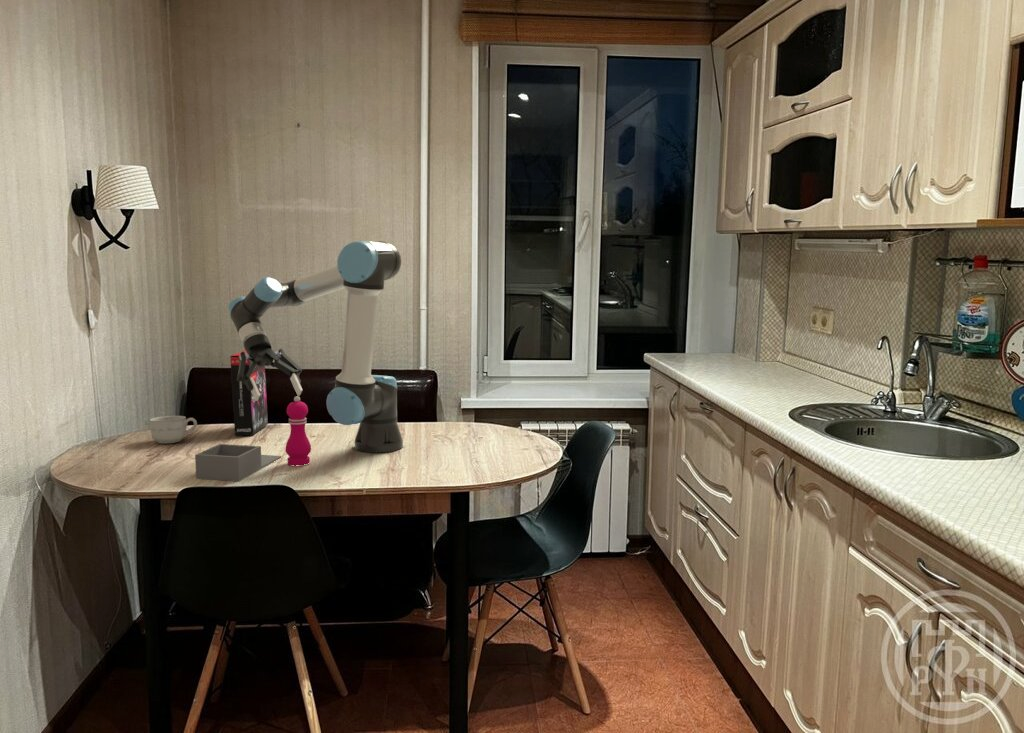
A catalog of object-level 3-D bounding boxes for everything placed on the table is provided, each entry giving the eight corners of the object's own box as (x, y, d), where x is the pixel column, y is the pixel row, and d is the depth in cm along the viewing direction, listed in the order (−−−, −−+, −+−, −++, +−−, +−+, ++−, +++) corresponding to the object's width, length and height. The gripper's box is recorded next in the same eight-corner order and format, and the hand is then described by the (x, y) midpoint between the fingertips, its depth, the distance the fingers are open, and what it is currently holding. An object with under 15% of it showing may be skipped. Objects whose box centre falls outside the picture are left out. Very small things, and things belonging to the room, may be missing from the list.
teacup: (145, 445, 254) (144, 421, 253) (158, 437, 265) (157, 414, 264) (190, 446, 255) (189, 421, 254) (201, 438, 266) (200, 414, 265)
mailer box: (281, 457, 242) (281, 436, 241) (239, 481, 217) (238, 457, 217) (242, 455, 244) (241, 434, 243) (196, 478, 220) (195, 454, 219)
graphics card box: (253, 436, 268) (250, 355, 265) (232, 436, 268) (229, 355, 264) (268, 425, 285) (266, 348, 281) (248, 425, 285) (246, 348, 281)
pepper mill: (289, 468, 231) (287, 399, 228) (283, 462, 237) (281, 395, 234) (314, 465, 235) (312, 397, 232) (307, 459, 241) (306, 393, 238)
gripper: (288, 345, 260) (312, 398, 252) (212, 351, 244) (235, 407, 235) (296, 330, 256) (321, 383, 247) (218, 335, 239) (242, 392, 230)
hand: (279, 395), depth 241 cm, fingers open, 13 cm apart
